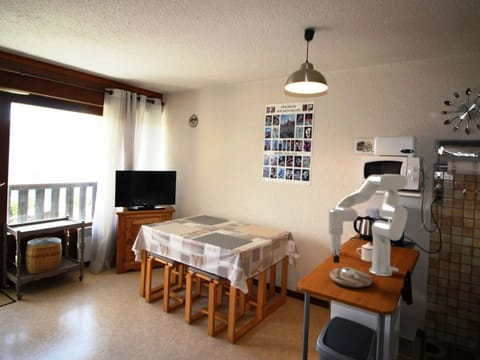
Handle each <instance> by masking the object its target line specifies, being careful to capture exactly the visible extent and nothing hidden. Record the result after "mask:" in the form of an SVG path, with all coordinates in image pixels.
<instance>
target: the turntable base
mask: <svg viewBox="0 0 480 360" xmlns="http://www.w3.org/2000/svg"><path fill="white" fill-rule="evenodd" d="M335 283H337V282H335ZM337 284H338V285H340V286H343V287H345V288H350V289H361V288H364V287H365V286H362V287H355V286H348V285H343V284H340V283H337Z"/></svg>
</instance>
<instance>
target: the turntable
mask: <svg viewBox="0 0 480 360" xmlns="http://www.w3.org/2000/svg"><path fill="white" fill-rule="evenodd" d="M354 270H355V277H354V278H346V277H343V276H342V275H341V271H342V268H338V267H336V268H335V269H332V270H329V278H330V280H332V281H333V282H335V283H336V282H337V284H338V283H340V284H343V285H348V286H355V287H362V286H364V287H367V286H370V285H371V284H372V283H373V277H372V276H371V275H370V274H368V273H366V272H363V271H361V270H357V269H354ZM340 284H339V285H340ZM362 288H363V287H362Z"/></svg>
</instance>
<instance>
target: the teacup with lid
mask: <svg viewBox="0 0 480 360" xmlns="http://www.w3.org/2000/svg"><path fill="white" fill-rule="evenodd" d="M359 250H361V253H360V252H359ZM356 252H357V255H359V256H361V258H360V259H361V260H362V261H364V262H367V263H368V262H370V263H372V257H373V244H371V242H367V243H366V244H363V245H361V247H358V248H356Z"/></svg>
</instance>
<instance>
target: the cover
mask: <svg viewBox="0 0 480 360" xmlns="http://www.w3.org/2000/svg"><path fill="white" fill-rule="evenodd" d="M341 269H342V271H341V275H342V276H343V277H346V278H354V277H355V270H356V269H355V268H352V267H342V268H341Z"/></svg>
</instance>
